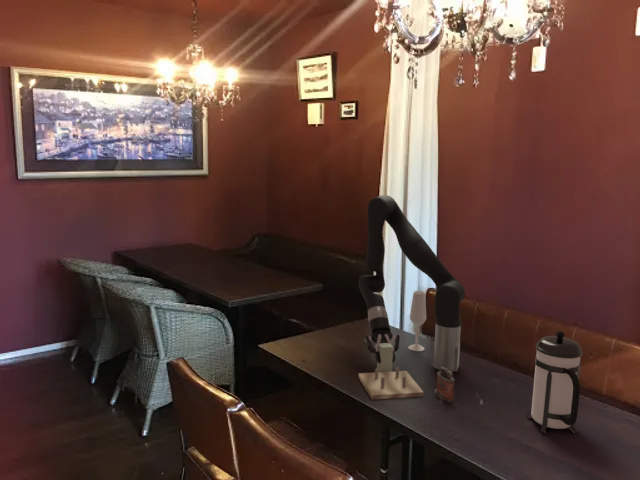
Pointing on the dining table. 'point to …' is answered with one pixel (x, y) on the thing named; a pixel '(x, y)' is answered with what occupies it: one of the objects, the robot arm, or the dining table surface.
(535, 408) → the coffee press
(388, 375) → the peg board
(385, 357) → the sage block
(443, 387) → the lighter
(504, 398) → the dining table surface
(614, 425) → the dining table surface
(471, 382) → the dining table surface
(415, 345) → the champagne flute
